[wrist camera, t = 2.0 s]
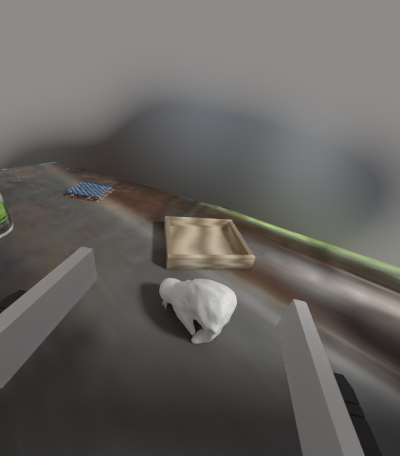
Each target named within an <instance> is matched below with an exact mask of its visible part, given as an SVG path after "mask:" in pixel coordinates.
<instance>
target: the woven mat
mask: <svg viewBox="0 0 400 456" xmlns="http://www.w3.org/2000/svg"><path fill="white" fill-rule="evenodd" d="M111 191H114V189H113V187H111V186H110V185H109V186H106V185H104V186H103V185H101V184H96V183H93V184H92V182H90V183H87V181H85V182H82V183H81V184H78V185H77V186H75V187H72V188H71V189H69V190H67V191H66V194H65V195H66V196H68V197H74V198H80V199H85V200H91V201H97V202H100V201H98V200H102V199H104V197H106V196H107V195H108V194H110V193H112V192H111ZM102 197H103V198H102ZM95 199H96V200H95Z"/></svg>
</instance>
